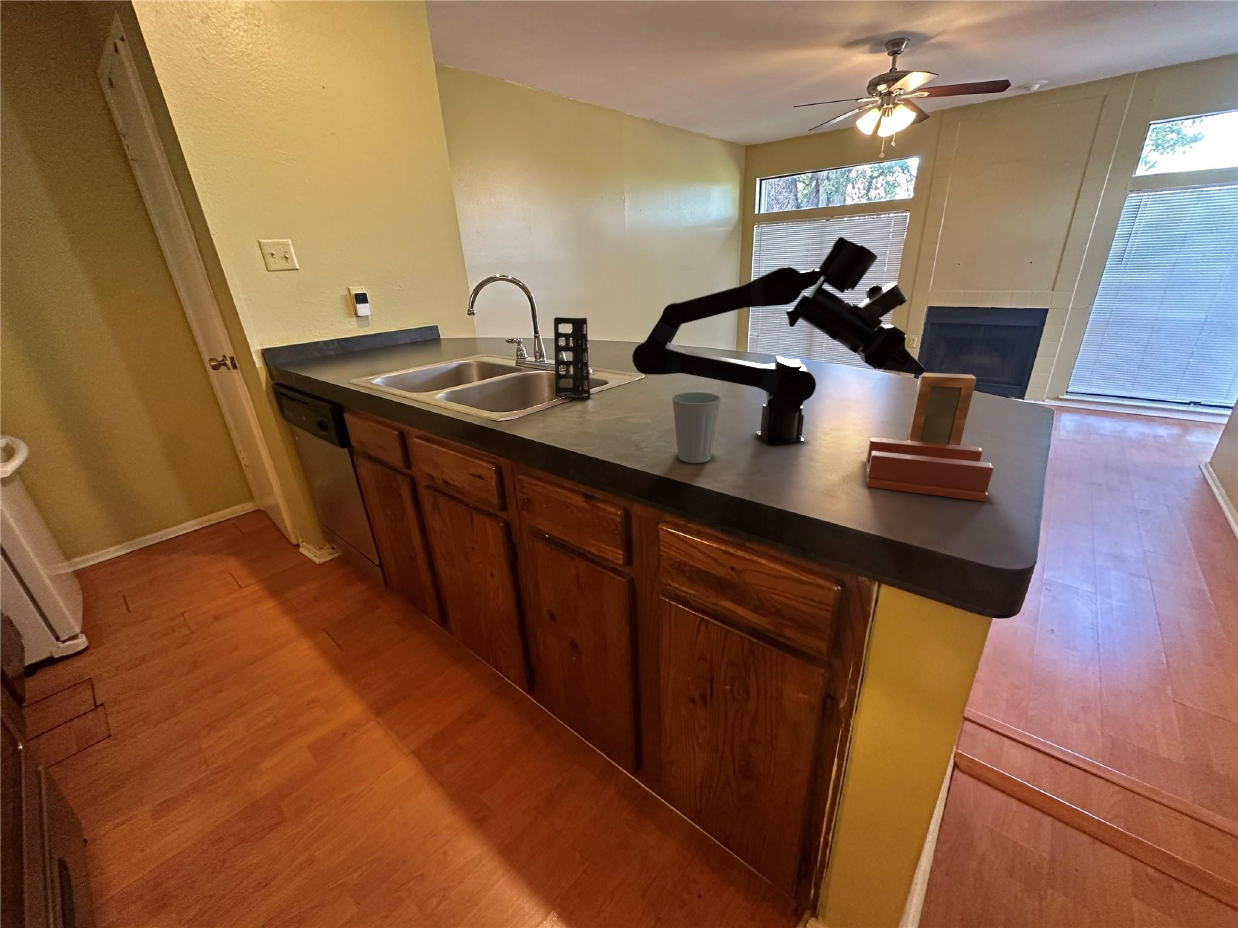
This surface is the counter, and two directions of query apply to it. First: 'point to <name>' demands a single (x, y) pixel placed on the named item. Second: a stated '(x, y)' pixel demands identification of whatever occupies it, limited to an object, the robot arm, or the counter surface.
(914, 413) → the frame
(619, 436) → the counter surface
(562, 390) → the holder
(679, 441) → the cup
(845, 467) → the counter surface
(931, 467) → the slot stand
